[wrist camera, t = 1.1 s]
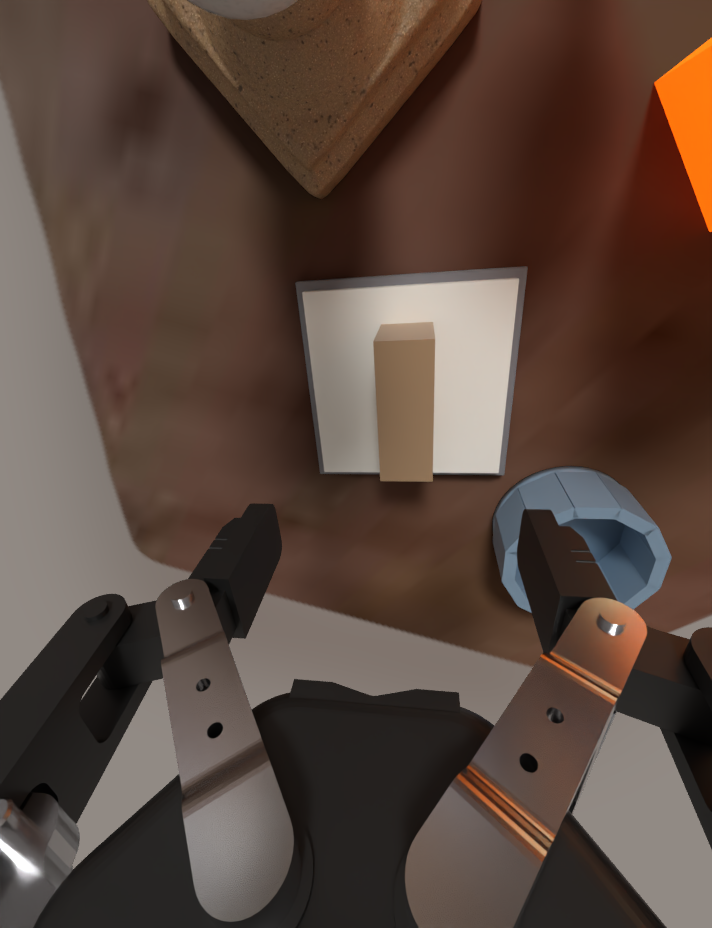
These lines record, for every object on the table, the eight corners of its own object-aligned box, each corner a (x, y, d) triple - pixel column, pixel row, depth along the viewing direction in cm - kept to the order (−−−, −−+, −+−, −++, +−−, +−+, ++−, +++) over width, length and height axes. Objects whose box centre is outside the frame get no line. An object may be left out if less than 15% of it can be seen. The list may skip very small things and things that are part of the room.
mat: (524, 266, 23) (527, 266, 22) (502, 469, 29) (504, 475, 29) (298, 281, 25) (295, 282, 24) (322, 468, 31) (320, 473, 31)
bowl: (647, 466, 28) (689, 509, 23) (615, 574, 32) (645, 627, 28) (498, 465, 29) (511, 506, 25) (487, 569, 34) (496, 618, 29)
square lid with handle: (517, 277, 23) (539, 288, 18) (497, 468, 28) (511, 512, 24) (304, 291, 25) (279, 303, 20) (326, 467, 30) (309, 507, 26)
